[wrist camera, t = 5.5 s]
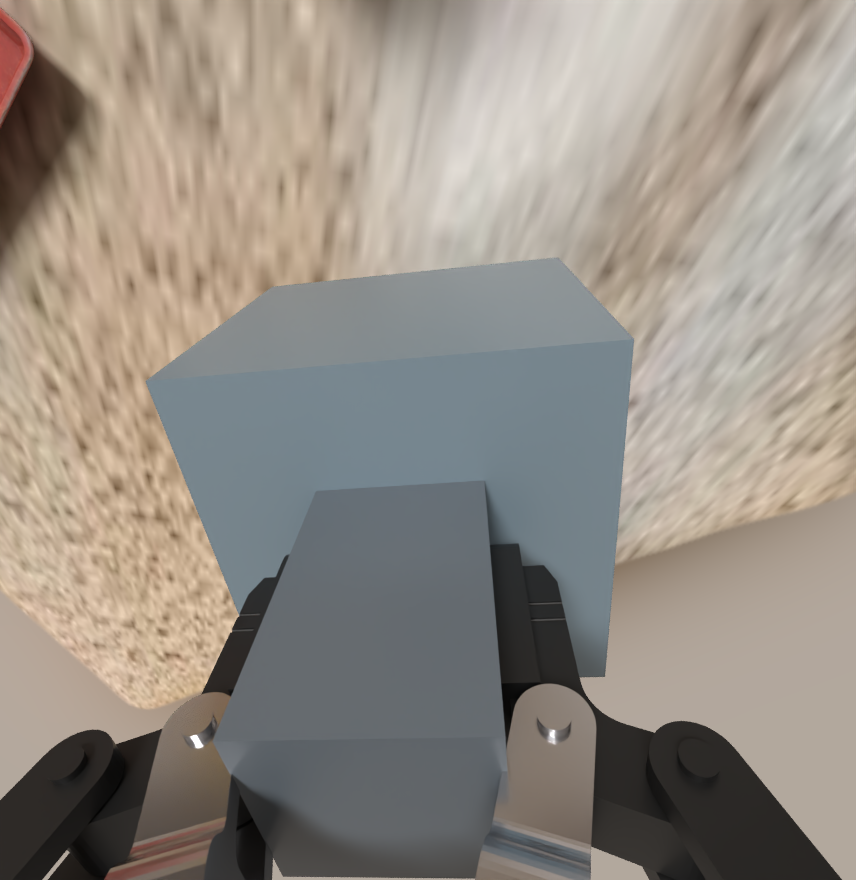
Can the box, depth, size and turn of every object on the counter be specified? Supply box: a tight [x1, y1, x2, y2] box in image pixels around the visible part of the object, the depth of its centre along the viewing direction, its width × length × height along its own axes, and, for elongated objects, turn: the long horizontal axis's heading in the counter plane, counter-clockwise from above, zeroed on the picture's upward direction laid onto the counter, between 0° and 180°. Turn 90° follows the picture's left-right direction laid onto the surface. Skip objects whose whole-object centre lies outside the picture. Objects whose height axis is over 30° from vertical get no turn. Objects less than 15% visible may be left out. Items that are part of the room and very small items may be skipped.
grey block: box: [146, 258, 634, 878], centre depth 14 cm, size 10×10×15 cm
